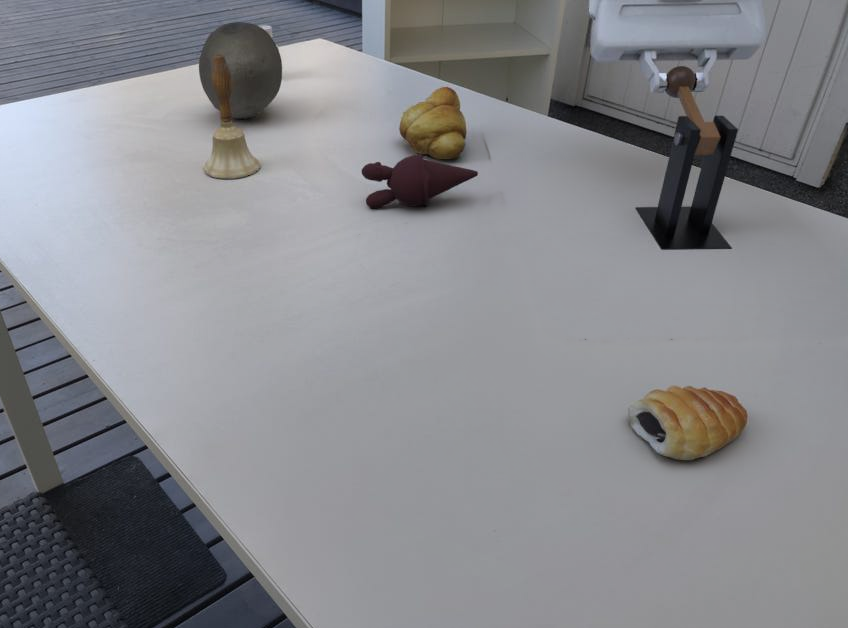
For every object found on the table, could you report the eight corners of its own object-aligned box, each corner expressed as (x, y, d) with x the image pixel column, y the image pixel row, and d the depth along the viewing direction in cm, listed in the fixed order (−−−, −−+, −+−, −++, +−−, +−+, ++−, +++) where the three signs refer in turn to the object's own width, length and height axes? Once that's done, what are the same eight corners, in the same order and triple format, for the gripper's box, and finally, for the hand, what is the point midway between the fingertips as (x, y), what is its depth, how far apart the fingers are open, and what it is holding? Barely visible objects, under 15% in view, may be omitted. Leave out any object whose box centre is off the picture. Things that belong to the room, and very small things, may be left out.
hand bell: (251, 153, 114) (238, 44, 104) (267, 173, 108) (255, 58, 98) (198, 163, 111) (179, 51, 102) (211, 183, 105) (193, 67, 96)
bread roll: (476, 162, 109) (480, 108, 104) (411, 168, 108) (412, 113, 103) (453, 132, 119) (455, 81, 115) (394, 137, 118) (394, 86, 113)
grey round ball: (189, 126, 124) (173, 31, 115) (232, 100, 135) (221, 11, 126) (263, 136, 120) (252, 38, 111) (302, 109, 130) (295, 17, 121)
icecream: (471, 142, 98) (359, 156, 99) (480, 148, 92) (360, 164, 92) (474, 194, 101) (365, 208, 101) (484, 204, 94) (367, 219, 95)
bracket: (633, 215, 94) (656, 106, 86) (696, 214, 94) (726, 105, 86) (659, 258, 86) (687, 141, 77) (729, 257, 85) (765, 140, 77)
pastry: (708, 394, 66) (719, 360, 64) (764, 444, 61) (779, 408, 59) (618, 420, 63) (626, 385, 61) (669, 473, 58) (680, 438, 56)
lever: (656, 87, 92) (665, 60, 89) (685, 86, 92) (695, 59, 89) (685, 159, 83) (695, 132, 80) (717, 159, 83) (729, 132, 80)
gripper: (594, -31, 88) (600, 78, 86) (768, -35, 88) (778, 75, 86) (580, 2, 95) (585, 104, 93) (742, -1, 94) (751, 101, 92)
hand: (679, 90), depth 89 cm, fingers closed on lever, 3 cm apart
